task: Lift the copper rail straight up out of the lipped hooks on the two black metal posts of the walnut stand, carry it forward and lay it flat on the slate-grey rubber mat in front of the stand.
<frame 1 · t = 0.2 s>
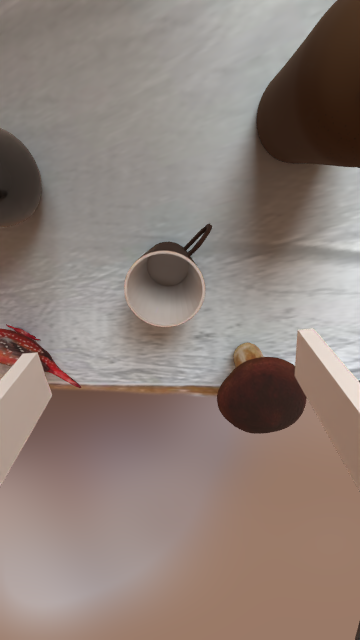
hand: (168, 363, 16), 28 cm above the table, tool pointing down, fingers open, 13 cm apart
decorative bird figurine: (39, 337, 47), on the table
decorative mushroom: (245, 350, 48), on the table
coffee mug: (177, 260, 42), on the table
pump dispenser: (12, 177, 38), on the table
olive oil: (297, 117, 35), on the table
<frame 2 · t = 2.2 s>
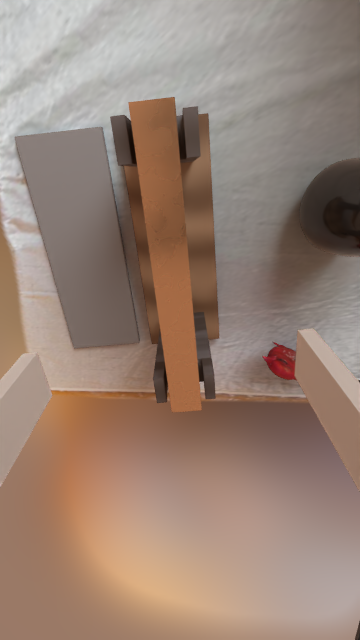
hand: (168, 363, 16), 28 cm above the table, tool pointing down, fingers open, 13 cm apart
rubber mat: (87, 252, 42), on the table
decorative bird figurine: (295, 353, 49), on the table
copper rail: (173, 274, 29), point 13 cm above the table, touching rail stand
rail stand: (175, 244, 42), on the table
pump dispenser: (330, 204, 40), on the table
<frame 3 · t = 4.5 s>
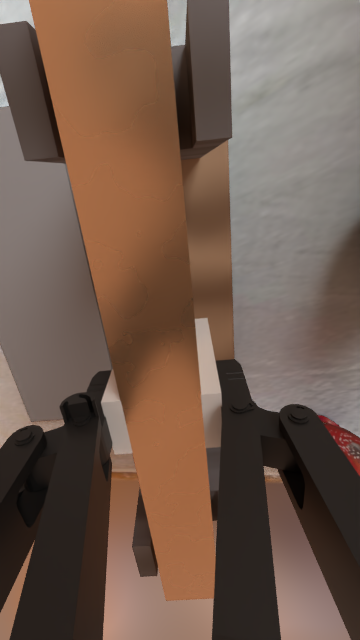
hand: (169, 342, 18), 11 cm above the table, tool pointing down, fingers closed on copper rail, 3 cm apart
rubber mat: (42, 294, 28), on the table
decorative bird figurine: (340, 424, 35), on the table
copper rail: (168, 367, 16), point 13 cm above the table, touching gripper, rail stand
rail stand: (173, 281, 28), on the table
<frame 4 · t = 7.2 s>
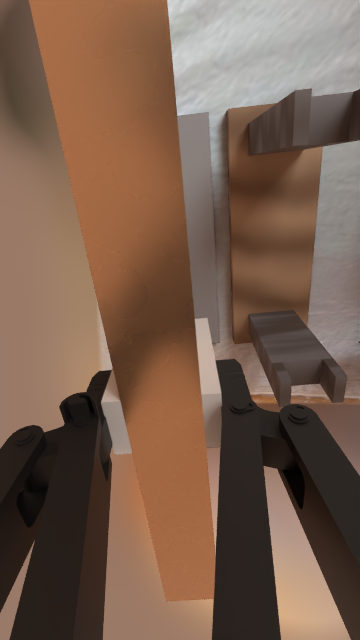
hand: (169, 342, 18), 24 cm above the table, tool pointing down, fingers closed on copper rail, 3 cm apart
rubber mat: (175, 247, 40), on the table
copper rail: (168, 367, 16), point 27 cm above the table, touching gripper
rail stand: (269, 238, 39), on the table
when the fingers open (1 cm above the table, at t = 10.2 s): copper rail drops 3 cm, resting on rubber mat.
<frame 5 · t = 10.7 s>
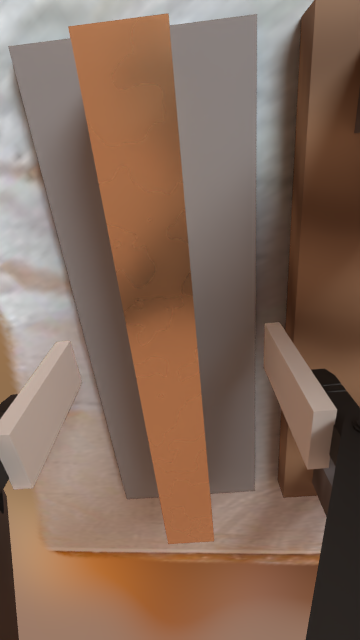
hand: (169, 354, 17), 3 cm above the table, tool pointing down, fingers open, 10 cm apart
rubber mat: (170, 331, 19), on the table
copper rail: (170, 338, 18), point 1 cm above the table, touching rubber mat
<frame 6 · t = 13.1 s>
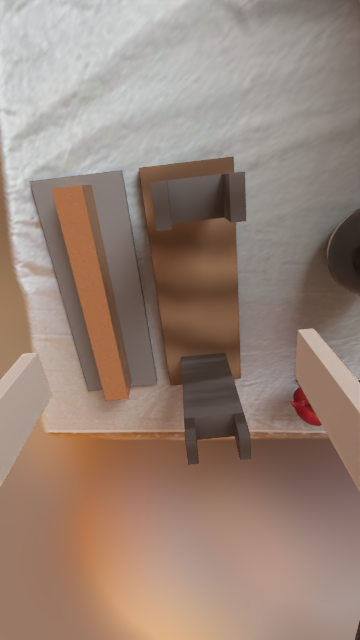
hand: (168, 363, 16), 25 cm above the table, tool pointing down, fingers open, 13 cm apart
rubber mat: (103, 295, 40), on the table
decorative bird figurine: (318, 390, 47), on the table
copper rail: (102, 297, 40), point 1 cm above the table, touching rubber mat
rail stand: (196, 284, 40), on the table
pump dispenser: (356, 243, 38), on the table
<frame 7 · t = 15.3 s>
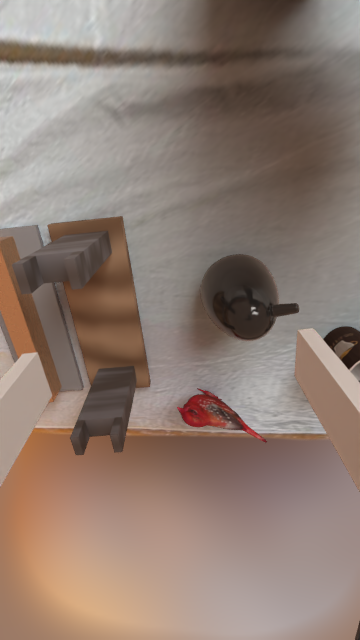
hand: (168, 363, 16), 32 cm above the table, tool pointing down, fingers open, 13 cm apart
rubber mat: (32, 318, 50), on the table
decorative bird figurine: (219, 396, 57), on the table
coffee mug: (349, 339, 52), on the table
copper rail: (30, 320, 49), point 1 cm above the table, touching rubber mat
rail stand: (106, 311, 49), on the table
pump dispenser: (233, 281, 47), on the table
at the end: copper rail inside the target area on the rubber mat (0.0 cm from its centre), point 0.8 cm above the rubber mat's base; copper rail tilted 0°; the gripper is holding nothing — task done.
